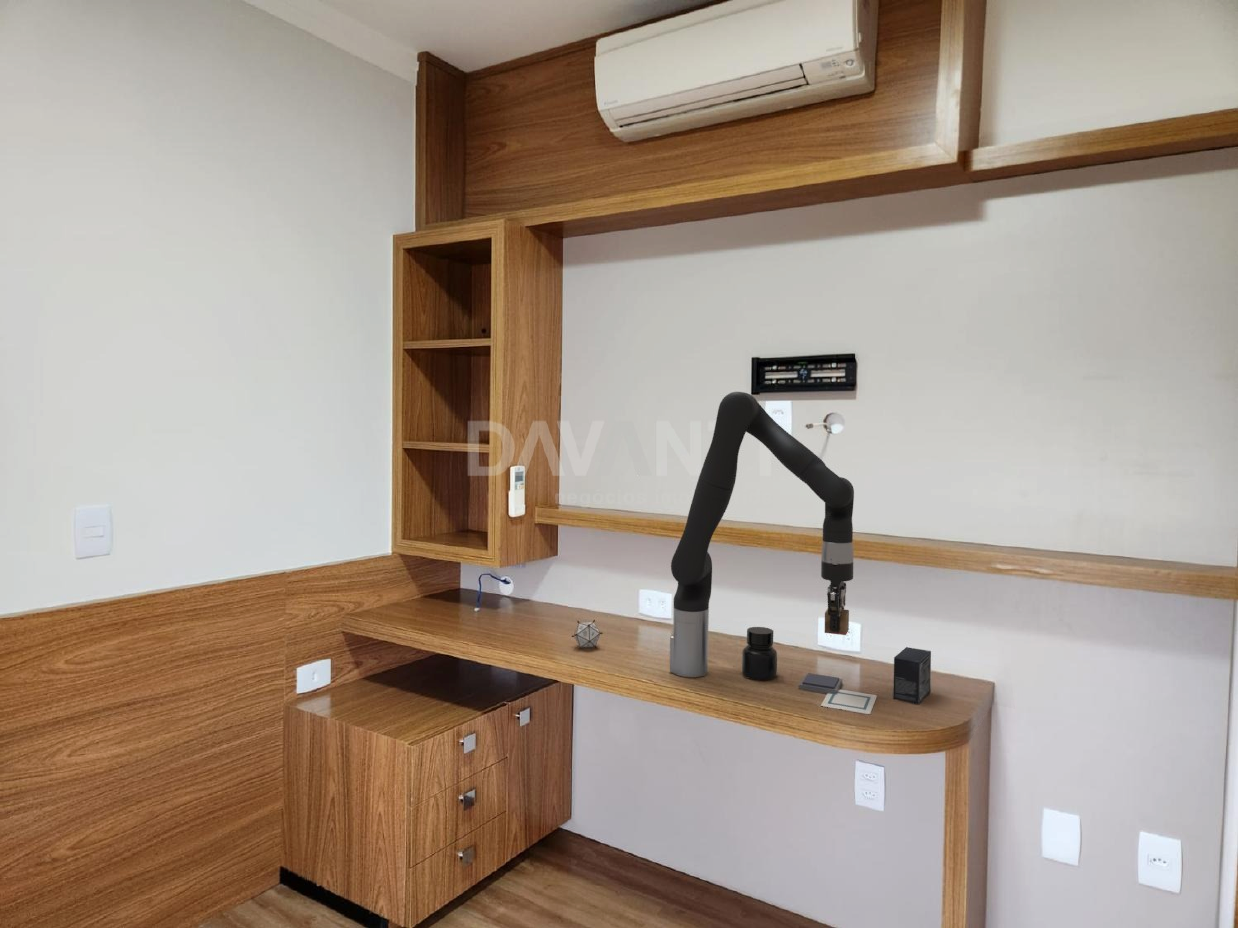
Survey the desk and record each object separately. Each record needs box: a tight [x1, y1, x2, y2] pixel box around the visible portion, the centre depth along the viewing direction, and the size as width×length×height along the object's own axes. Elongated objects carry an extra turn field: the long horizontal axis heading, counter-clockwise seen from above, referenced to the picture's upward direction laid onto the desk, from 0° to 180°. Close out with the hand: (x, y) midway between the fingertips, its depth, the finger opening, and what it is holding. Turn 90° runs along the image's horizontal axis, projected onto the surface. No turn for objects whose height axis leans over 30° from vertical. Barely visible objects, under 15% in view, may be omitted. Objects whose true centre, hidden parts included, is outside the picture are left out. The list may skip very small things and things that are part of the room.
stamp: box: [824, 602, 850, 636], centre depth 184 cm, size 5×5×7 cm
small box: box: [892, 646, 932, 705], centre depth 183 cm, size 11×6×10 cm, turn 144°
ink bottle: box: [741, 626, 778, 681], centre depth 196 cm, size 10×9×12 cm
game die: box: [571, 619, 604, 651], centre depth 218 cm, size 9×8×10 cm
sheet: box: [820, 688, 878, 716], centre depth 179 cm, size 11×13×1 cm
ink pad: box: [798, 672, 843, 695], centre depth 188 cm, size 9×9×2 cm
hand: (836, 628), depth 184 cm, fingers closed on stamp, 5 cm apart
